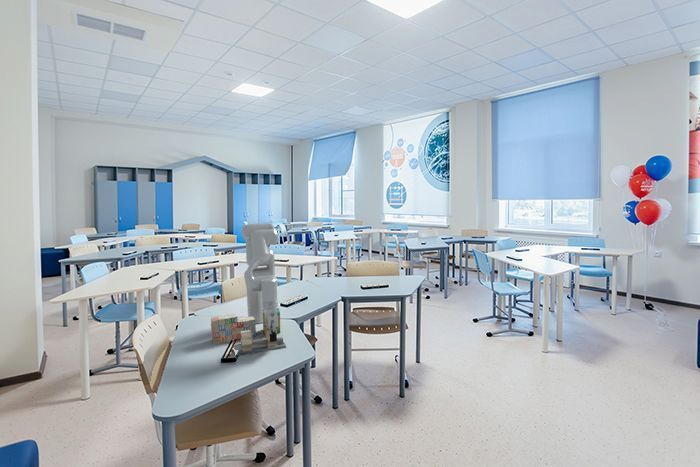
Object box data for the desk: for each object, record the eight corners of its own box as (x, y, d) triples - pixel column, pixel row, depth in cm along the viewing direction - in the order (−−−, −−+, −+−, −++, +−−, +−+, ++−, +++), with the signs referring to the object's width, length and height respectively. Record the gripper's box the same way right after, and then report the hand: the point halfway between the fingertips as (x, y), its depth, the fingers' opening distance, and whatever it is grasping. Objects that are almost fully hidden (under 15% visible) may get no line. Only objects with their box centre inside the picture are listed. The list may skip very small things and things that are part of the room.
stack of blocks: (253, 332, 204) (252, 310, 203) (256, 336, 198) (255, 313, 197) (212, 340, 195) (210, 317, 194) (213, 344, 189) (211, 320, 188)
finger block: (265, 343, 186) (264, 327, 185) (275, 341, 188) (274, 326, 187) (267, 347, 181) (266, 331, 180) (277, 345, 183) (276, 329, 182)
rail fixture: (232, 349, 182) (231, 331, 181) (281, 340, 191) (281, 324, 190) (234, 356, 174) (233, 337, 173) (285, 347, 183) (285, 329, 182)
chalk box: (263, 335, 200) (262, 307, 198) (263, 329, 209) (261, 303, 207) (281, 333, 202) (279, 306, 201) (279, 327, 211) (278, 301, 210)
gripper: (281, 307, 176) (282, 342, 178) (274, 298, 192) (275, 331, 194) (265, 309, 173) (266, 345, 175) (259, 300, 189) (260, 333, 191)
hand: (271, 337), depth 184 cm, fingers open, 9 cm apart
